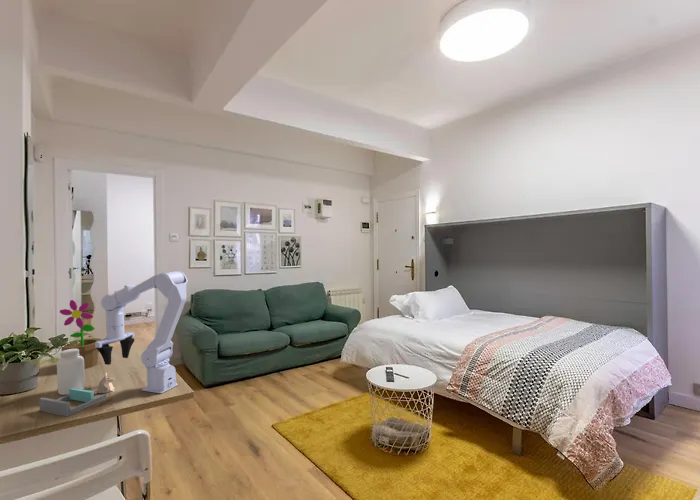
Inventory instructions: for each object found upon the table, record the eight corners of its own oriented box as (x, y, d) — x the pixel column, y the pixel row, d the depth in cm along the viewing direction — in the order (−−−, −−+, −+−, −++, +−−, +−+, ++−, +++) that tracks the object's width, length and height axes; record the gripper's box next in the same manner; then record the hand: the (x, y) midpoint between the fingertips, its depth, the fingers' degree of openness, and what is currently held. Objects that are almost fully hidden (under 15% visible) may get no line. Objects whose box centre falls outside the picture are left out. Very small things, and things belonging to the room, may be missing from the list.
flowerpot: (55, 373, 149) (51, 301, 148) (73, 361, 163) (70, 296, 162) (94, 370, 152) (91, 300, 151) (108, 358, 166) (106, 294, 165)
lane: (106, 398, 125) (105, 387, 125) (67, 416, 113) (66, 403, 113) (80, 393, 129) (79, 382, 129) (39, 410, 117) (39, 398, 117)
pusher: (94, 401, 122) (93, 391, 122) (91, 403, 121) (90, 392, 121) (72, 397, 125) (72, 387, 125) (69, 399, 125) (69, 389, 124)
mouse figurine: (90, 391, 132) (89, 373, 131) (116, 387, 135) (115, 369, 135) (86, 397, 127) (86, 378, 127) (113, 392, 130) (112, 374, 130)
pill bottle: (55, 397, 126) (53, 355, 126) (61, 389, 134) (59, 349, 133) (83, 392, 130) (81, 351, 130) (87, 384, 137) (85, 346, 137)
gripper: (124, 320, 143) (126, 353, 144) (88, 329, 130) (90, 366, 130) (138, 321, 141) (139, 355, 142) (102, 330, 128) (104, 368, 128)
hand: (116, 360), depth 136 cm, fingers open, 7 cm apart
